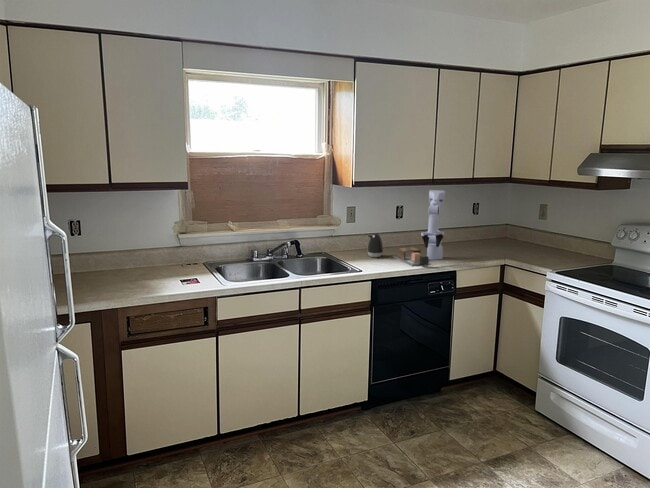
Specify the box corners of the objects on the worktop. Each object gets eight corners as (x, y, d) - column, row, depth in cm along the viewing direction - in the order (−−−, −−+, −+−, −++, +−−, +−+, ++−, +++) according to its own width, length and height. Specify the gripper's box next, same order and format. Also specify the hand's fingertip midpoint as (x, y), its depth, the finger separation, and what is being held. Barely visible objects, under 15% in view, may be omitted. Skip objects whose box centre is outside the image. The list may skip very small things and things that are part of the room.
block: (417, 258, 304) (417, 252, 303) (420, 260, 300) (420, 253, 300) (411, 259, 303) (411, 252, 302) (414, 260, 299) (414, 254, 298)
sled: (417, 259, 307) (418, 251, 306) (430, 264, 293) (430, 256, 292) (407, 259, 304) (408, 252, 303) (419, 265, 291) (420, 257, 290)
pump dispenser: (364, 255, 320) (364, 232, 317) (378, 254, 324) (379, 231, 321) (370, 258, 311) (371, 235, 308) (385, 257, 315) (386, 234, 312)
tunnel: (413, 256, 316) (414, 247, 314) (420, 259, 308) (420, 249, 307) (397, 257, 312) (398, 248, 311) (403, 260, 304) (404, 250, 303)
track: (409, 256, 321) (409, 254, 321) (429, 264, 298) (429, 262, 298) (393, 257, 317) (393, 255, 317) (412, 266, 294) (412, 264, 294)
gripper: (426, 226, 290) (424, 249, 293) (447, 225, 295) (445, 247, 297) (420, 224, 296) (418, 246, 299) (440, 223, 301) (439, 245, 304)
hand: (431, 247), depth 299 cm, fingers open, 7 cm apart
